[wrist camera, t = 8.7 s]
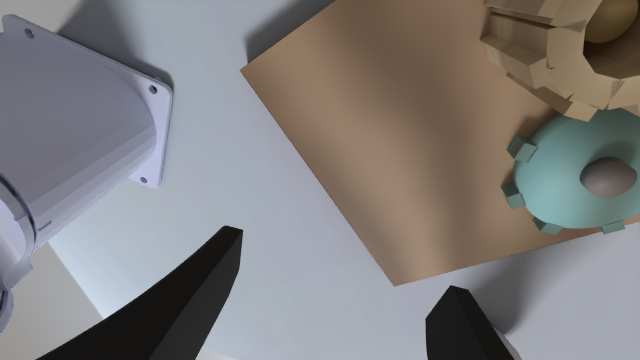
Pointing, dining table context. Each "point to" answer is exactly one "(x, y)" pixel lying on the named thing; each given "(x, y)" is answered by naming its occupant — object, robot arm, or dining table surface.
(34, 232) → the robot arm
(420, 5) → the gear board
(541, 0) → the wooden gear
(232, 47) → the dining table surface
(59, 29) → the dining table surface
